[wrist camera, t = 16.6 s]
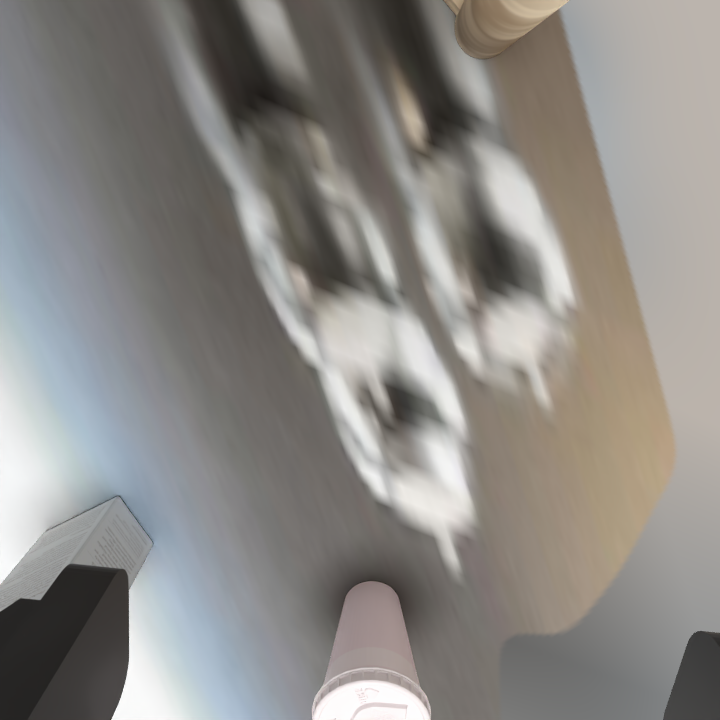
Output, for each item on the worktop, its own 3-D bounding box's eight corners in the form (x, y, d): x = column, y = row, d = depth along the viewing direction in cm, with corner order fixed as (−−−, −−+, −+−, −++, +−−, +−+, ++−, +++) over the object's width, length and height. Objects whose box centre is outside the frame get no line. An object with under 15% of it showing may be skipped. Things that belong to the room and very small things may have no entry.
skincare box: (82, 579, 43) (-24, 736, 31) (44, 530, 41) (-81, 674, 30) (158, 544, 42) (77, 692, 30) (121, 492, 40) (22, 626, 29)
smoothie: (439, 610, 43) (468, 818, 29) (365, 658, 44) (361, 878, 31) (378, 546, 41) (381, 734, 28) (304, 598, 43) (272, 801, 29)
